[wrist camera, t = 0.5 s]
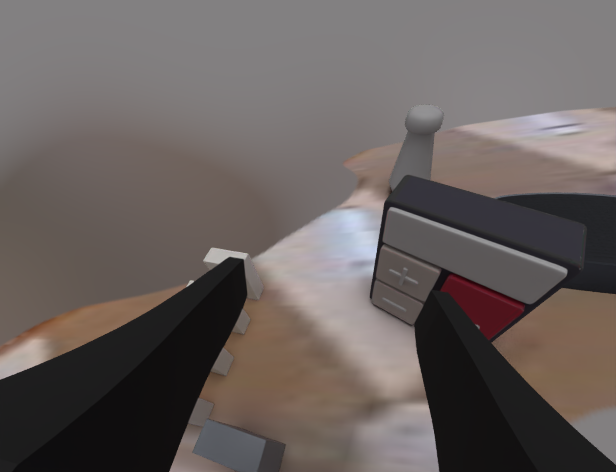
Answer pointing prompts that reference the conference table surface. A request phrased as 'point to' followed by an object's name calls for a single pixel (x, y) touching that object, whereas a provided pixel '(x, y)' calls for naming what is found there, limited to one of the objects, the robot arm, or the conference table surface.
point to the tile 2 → (200, 412)
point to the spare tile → (238, 448)
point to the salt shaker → (417, 144)
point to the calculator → (471, 254)
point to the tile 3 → (223, 363)
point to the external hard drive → (600, 232)
